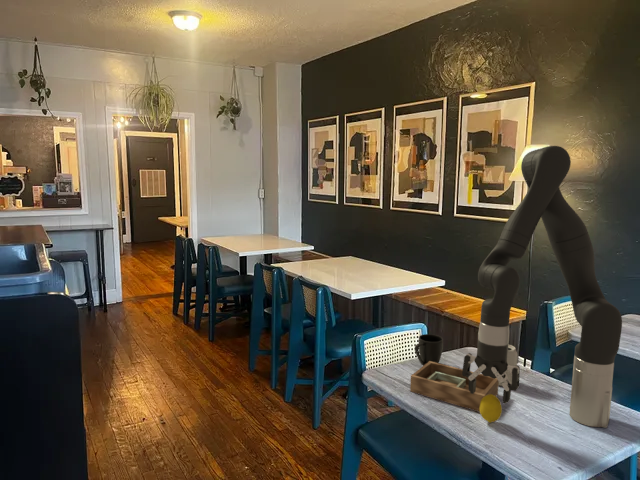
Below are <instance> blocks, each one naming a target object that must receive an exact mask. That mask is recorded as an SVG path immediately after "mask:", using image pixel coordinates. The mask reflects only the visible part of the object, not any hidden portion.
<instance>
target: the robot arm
mask: <svg viewBox="0 0 640 480" xmlns="http://www.w3.org/2000/svg"><path fill="white" fill-rule="evenodd" d="M571 162H572V161H571V156H570V153H569V152H568V151H567V150H566V149H565V148H564V147H562V146H559V145H548V146H545V147H542V148H538V149H534V150H531V151H529V152H527V153H526V154H525V155H524V156H523V158H522V161H521V165H520V170H521V174H522V177H523V178H524V179H523V180H524V181H525V183H526V185H527V187H528V190H527V192H526V194H525V195H524V197H523V199H522V200H521V202H520V203H519V204H518V205H517V207H516V208H515V209H514V211H513V212H512V213H511V214H510V216H509V218H508V219H507V220H506V222H505V225H504V226H503V229H502V231H501V234H500V237H498V241H497V243H496V245H495V246H494V248H493V249H492V250H491V251H490V253H488V255H487V256H486V257H485V259H484V260H483V261H482V263H481V265H480V266H479V268H478V271H477V280H478V283H479V285H480V286H481V287H483V288H485V289H487V290H490V291H494V294H493V297H492V298H487V299H484V300H483V301H482V304H481V307H480V308H481V309H480V320H479V321H480V322H479V325H478V333H477V347H476V356H475V355H473V354H472V353H470V352H469V353H467V354H466V355H464V356H463V365H462V369H463V371H462V375H463V376H464V377H465V376H466V377H467V378H468V379H469V387H468V389H469V391H470V393H471V394H474V393H475V391H476V379H475V377H476V376H478V375H479V374H483V376H489V377H491V378H494V379H495V378H497V379H498V381H499V382H500V383H501V384H502V386H501V387H503V392H502V395H503V396H502V404H505V405H506V404H507V403H509V401H510V400H511V394H512V393H511V392H512V391H514V392H516V391H517V390H518V389H519V387H520V377H521V376H520V371H521V370H520V369H521V367H520V365H518V364H517V365H516V366H510V365H508V363H507V355H508V345H509V341H510V317H511V308H512V306H513V304H514V302H515V298H516V295H517V294H518V291H519V289H520V284H521V283H520V281H521V280H520V275H519V273H518V271H517V270H516V268H513V267H511V266H508V264H509V263H510V262H511V261H514V260H520V259H522V258H523V257H524V255H525V254H526V252H527V249H528V246H529V244H530V242H531V240H532V237H533V236H534V235H533V234H534V232H535V230H536V228H537V226H538V224H539V222H540V220H541V221H542V224H543V226H544V229H545V231H546V235H547V237H548V240H549V243H550V246H551V249H552V252H553V255H554V256H555V260H556V261H557V265H558V266H559V269H560V271H561V274H562V277H564V280H565V282H566V285H567V288H568V293H569V296H570V301H571V306H572V309H573V314H574V317H575V320H576V321H577V323H578V324H579V325H580V326H581V332H580V340H579V342H578V343H577V344H576V345H575V346H574V356H573V369H572V379H571V390H570V403H569V416H570V418H571V419H572V420H574V421H575V422H577V423H579V424H582V425H585V426H588V427H593V428H604V429H608V425H609V422H610V415H611V405H612V395H613V378H614V368H615V358H616V356H617V354H618V353H619V349H620V342H621V336H622V329H623V317H622V314H621V311H619V309H618V308H617V307H616V306H615V305H614V304H612V303H610V302H609V301H608V300H607V299H606V297H605V295H604V294H603V291H602V290H601V287H600V284H599V283H598V279H597V276H596V269H595V253H594V252H595V251H594V246H593V243H592V240H591V238H590V235H589V232H588V228H587V227H586V225H585V222H584V221H583V220H582V218H581V217H580V216H579V214H577V212H576V211H575V210H574V208H573V207H571V205H570V204H569V203H568V202H567V200H566V198H565V197H564V195H563V193H562V192H561V189H560V186H561V184H562V183H563V181H564V180H565V178H566V177H567V175H568V173H569V171H570V168H571V164H572V163H571ZM473 363H475V365H476V367H477V368H476V370H475V371H471V367H472V364H473ZM506 370H509V372H510V374H511V375H512V384H511V383H510V381H509V380H508V377H507V375H506V373H505V371H506ZM470 371H471V372H473V373H471V372H470Z"/></svg>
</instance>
